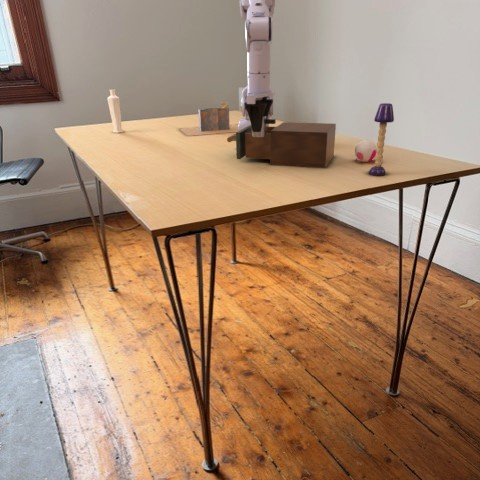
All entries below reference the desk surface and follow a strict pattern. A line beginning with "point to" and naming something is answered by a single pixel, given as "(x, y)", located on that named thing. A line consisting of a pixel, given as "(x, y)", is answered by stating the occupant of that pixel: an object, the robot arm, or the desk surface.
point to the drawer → (251, 144)
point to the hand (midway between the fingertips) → (258, 130)
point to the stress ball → (365, 151)
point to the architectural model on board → (212, 122)
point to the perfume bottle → (115, 111)
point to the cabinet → (302, 144)
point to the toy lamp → (381, 135)
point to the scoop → (263, 127)
